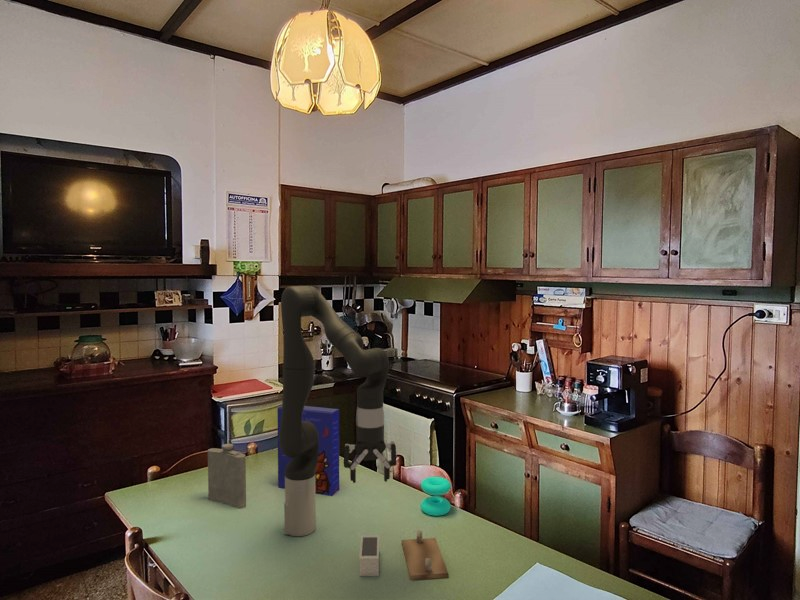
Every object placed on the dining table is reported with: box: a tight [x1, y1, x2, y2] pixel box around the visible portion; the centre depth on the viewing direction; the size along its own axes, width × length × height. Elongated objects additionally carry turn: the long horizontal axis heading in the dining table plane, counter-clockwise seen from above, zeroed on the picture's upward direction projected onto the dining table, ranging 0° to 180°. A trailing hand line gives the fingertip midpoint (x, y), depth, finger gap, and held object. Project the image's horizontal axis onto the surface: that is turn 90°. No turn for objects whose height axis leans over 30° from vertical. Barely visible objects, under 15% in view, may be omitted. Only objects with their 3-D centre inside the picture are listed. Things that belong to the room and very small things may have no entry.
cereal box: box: [276, 405, 340, 497], centre depth 192 cm, size 22×6×30 cm, turn 72°
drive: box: [359, 534, 380, 577], centre depth 144 cm, size 5×12×5 cm, turn 2°
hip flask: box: [207, 443, 247, 509], centre depth 181 cm, size 16×4×20 cm, turn 64°
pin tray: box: [401, 530, 449, 581], centre depth 146 cm, size 10×18×4 cm, turn 7°
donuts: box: [420, 476, 452, 517], centre depth 176 cm, size 10×10×10 cm
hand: (370, 481), depth 143 cm, fingers open, 8 cm apart
